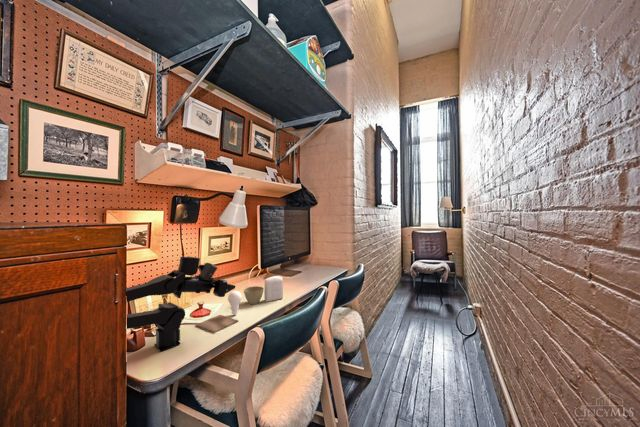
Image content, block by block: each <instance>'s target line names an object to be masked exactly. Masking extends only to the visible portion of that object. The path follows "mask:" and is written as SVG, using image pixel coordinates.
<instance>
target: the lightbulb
mask: <svg viewBox="0 0 640 427" xmlns="http://www.w3.org/2000/svg"><path fill="white" fill-rule="evenodd" d="M242 298H243V296H242V294H241V292H240V291H238V290H232V291H230V293H229V294H228V296H227V301H228V303H229V305H230V308H231V309H230V310H231V315H233V316H236V315H237V314H238V313H239V306H240V303H241V301H242Z"/></svg>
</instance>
